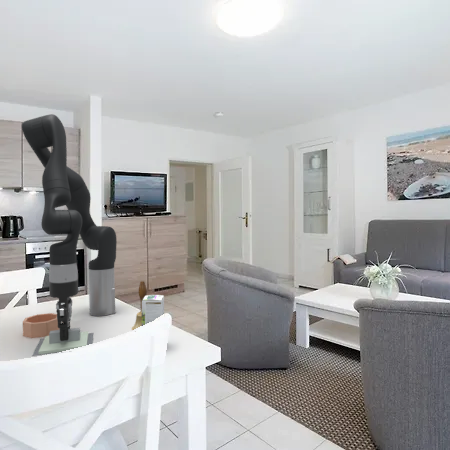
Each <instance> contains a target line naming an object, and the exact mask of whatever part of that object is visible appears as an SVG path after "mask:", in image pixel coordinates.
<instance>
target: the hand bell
mask: <svg viewBox="0 0 450 450" xmlns="http://www.w3.org/2000/svg"><path fill="white" fill-rule="evenodd" d="M139 282H140V283H139V285H138V297H139V299H140V311H139V312H137V314H136V316H135V322H134V324H133V326H132V327H131V330H132V331H133V330H134V329H136V328H138V327H140V326H142V300H143V299H144V297H145V296H147V293H148V292H147V291H148V290H147V287H146V286H147V285H146V282H145V281H144V280H141V281H139Z"/></svg>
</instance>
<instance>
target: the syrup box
mask: <svg viewBox="0 0 450 450" xmlns="http://www.w3.org/2000/svg"><path fill="white" fill-rule="evenodd" d="M163 314H164V315H165V295H163V294H162V295H161V294H148V295H146V296H145V297H144V299H143V300H142V326H143V325H145V324H147V323H149V322H152V321H154V320H155V319H156V318H158V317H160V316H161V315H163Z"/></svg>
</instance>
